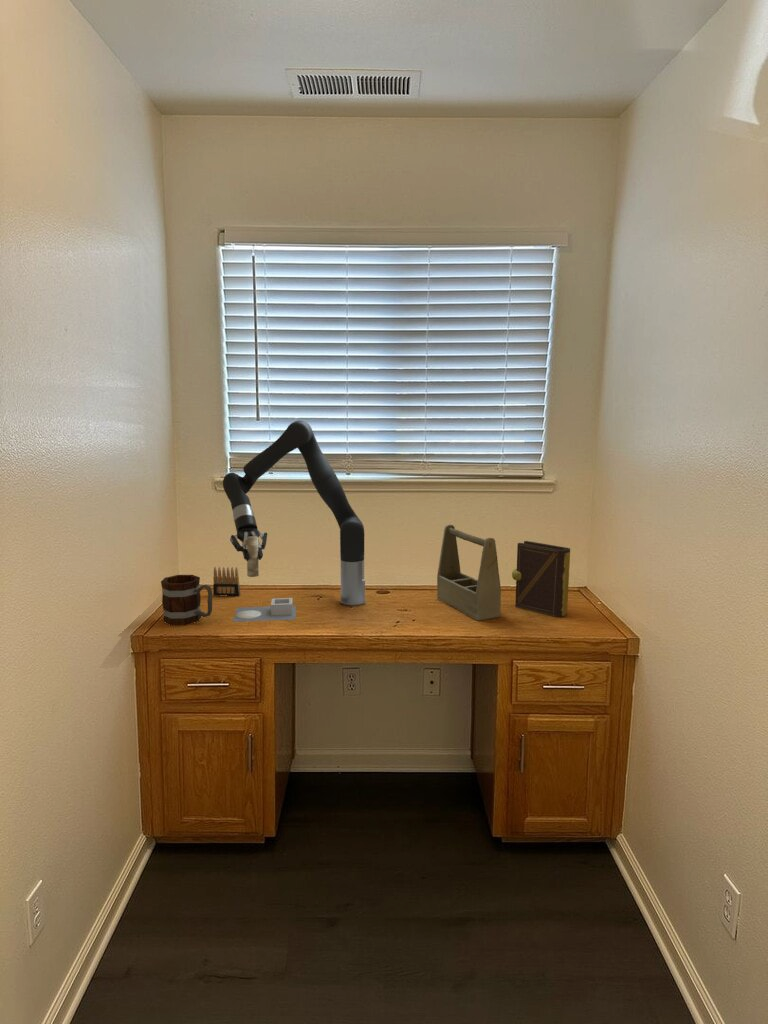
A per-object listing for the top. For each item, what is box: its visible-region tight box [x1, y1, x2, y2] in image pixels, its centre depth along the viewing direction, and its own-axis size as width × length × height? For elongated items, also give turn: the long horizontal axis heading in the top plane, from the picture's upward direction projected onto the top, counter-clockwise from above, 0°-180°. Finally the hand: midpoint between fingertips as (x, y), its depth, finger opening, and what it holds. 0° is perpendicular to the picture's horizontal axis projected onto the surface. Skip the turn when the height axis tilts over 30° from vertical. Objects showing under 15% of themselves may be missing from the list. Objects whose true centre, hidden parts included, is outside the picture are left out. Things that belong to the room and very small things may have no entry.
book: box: [511, 540, 571, 619], centre depth 247 cm, size 22×8×25 cm, turn 47°
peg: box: [246, 536, 260, 578], centre depth 236 cm, size 4×4×14 cm
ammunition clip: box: [212, 566, 241, 597], centre depth 266 cm, size 11×2×12 cm, turn 86°
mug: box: [160, 574, 213, 626], centre depth 236 cm, size 20×14×15 cm
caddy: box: [436, 524, 502, 621], centre depth 250 cm, size 29×11×30 cm, turn 25°
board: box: [232, 597, 297, 623], centre depth 241 cm, size 22×16×6 cm
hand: (254, 558), depth 235 cm, fingers closed on peg, 4 cm apart
